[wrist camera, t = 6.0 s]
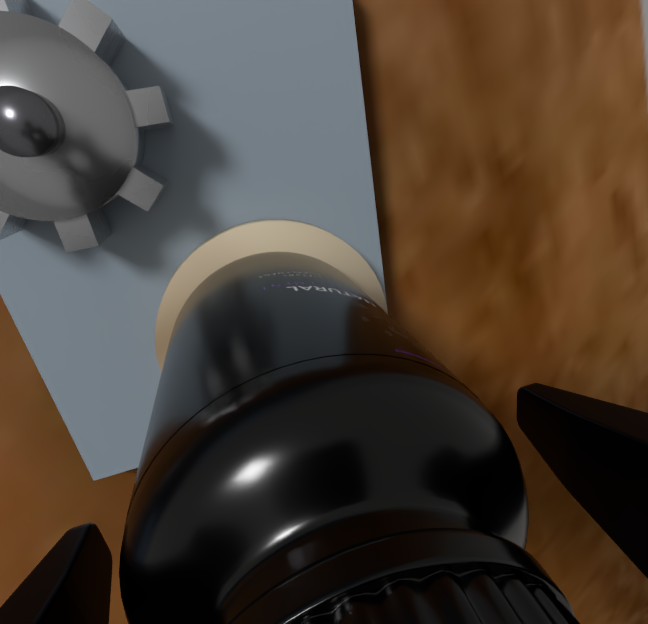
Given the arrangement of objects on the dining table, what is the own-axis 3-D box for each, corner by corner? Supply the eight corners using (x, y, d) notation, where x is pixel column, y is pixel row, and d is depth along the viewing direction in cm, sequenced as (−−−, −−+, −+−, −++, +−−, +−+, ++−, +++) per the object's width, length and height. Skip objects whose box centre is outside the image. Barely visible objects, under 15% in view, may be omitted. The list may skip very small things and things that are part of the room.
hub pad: (389, 392, 18) (397, 402, 17) (195, 450, 16) (194, 464, 15) (366, 196, 14) (374, 199, 14) (122, 248, 13) (117, 253, 12)
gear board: (385, 376, 19) (396, 390, 18) (100, 459, 17) (93, 480, 16) (336, -25, 13) (347, -40, 12) (-106, 26, 11) (-141, 13, 10)
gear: (199, 215, 13) (197, 230, 11) (-10, 258, 12) (-67, 286, 10) (135, -17, 11) (113, -68, 8) (-131, 12, 10) (-248, -36, 7)
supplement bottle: (350, 222, 14) (897, 496, 3) (379, 395, 16) (716, 872, 6) (134, 277, 13) (-307, 1056, 2) (204, 452, 15) (197, 1186, 4)
